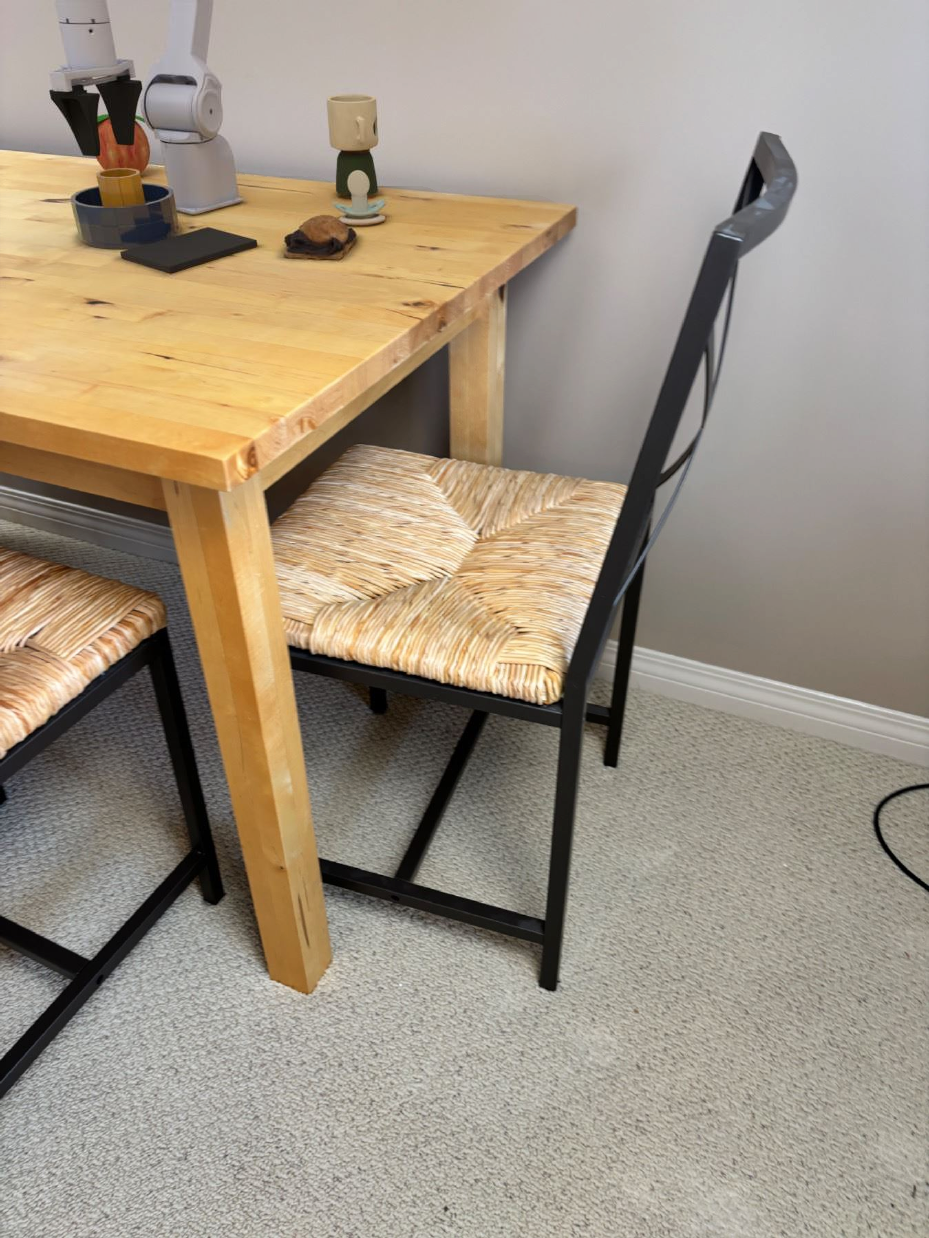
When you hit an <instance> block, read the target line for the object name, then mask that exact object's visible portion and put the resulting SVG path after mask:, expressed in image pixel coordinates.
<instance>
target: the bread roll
mask: <svg viewBox="0 0 929 1238" xmlns="http://www.w3.org/2000/svg"><path fill="white" fill-rule="evenodd" d="M357 238H358V234H357V231H356V230H354V228H353V227H348V226H347V224H344V223H343V222H342V221H341V220H339V218H338V217H336V216H334V215H330V214H319V215H315V216H313V217H309V218H308V219H307V220H306V221H303V223H301V225H300V226H299V227H298V229H297V230H295V231H294V232H292V233H289V234H287V235H285V236H284V243H285V246H286V248H285V249H284V251H283V258H289V259H293V258H295V259H303V260H308V259H314V260H318V261H319V260H336V261H337V260H338V261H339V260H341V259H343V258H344V257H345V256H346V255H347V253H348V252H350V248H351V247H353V246H354V244H355V242H356V241H357Z"/></svg>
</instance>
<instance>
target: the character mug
mask: <svg viewBox="0 0 929 1238" xmlns="http://www.w3.org/2000/svg"><path fill="white" fill-rule="evenodd" d="M326 108H327V109H326V110H327V122H328V124H327V125H328V137H329V144H330V147H331V148H332V149H335V150H337V151H339V152H338V154H337V158H336V168H335V171H336V172H335V192H336V194H339V195H344V196H345V195H346V196H347V195H348V196H349V195H351V192H350V191H349V188H348V177H349V175H350V174H351V173H352V172H353V171H356V170H360V171H362V172H364V173H365V174H366V175H367V177H368V179H369V183H370V186H369V190H368V192H367V195H371V196H372V195H375V194H377V193H378V191H379V187H378V179H377V173H376V168H375V163H374V156H373V155H372V153H371V149H373V148H374V147H377V146H378V144H379V133H378V132H379V131H378V129H379V128H378V105H377V97H376V96H374V95H368V94H358V93H357V94H355V93H351V94H349V93H345V94H336V95H331V96H328V97H327V98H326Z"/></svg>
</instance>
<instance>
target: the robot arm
mask: <svg viewBox="0 0 929 1238" xmlns="http://www.w3.org/2000/svg"><path fill="white" fill-rule="evenodd" d="M53 1H54V5H55V11H56V15H57V20H58V25H59V30H60V35H61V40H62V45H63V49H64V54H65V59H66V63H63V64H62V63H61V64H60V68H58V69H56V70H53V71H49V72H48V73H49V78H50V83H51V89H50V90H49V91H48V92H49V96H50V100H51V101H52V102H53V104H54V105H55V106H56V107H57V109H58V110H59V111H60V113H61V114H62V116H63V118H64V119H65V121H66V122H67V124H68V126H69V127H70V130H71V132H72V134H73V136H74V138H75V141H76V143H77V146H78V147H79V150H80V152H81V154H82V156H84V157H95V156H100V139H99V131H98V116H99V104H100V98H101V100H102V101H103V105H104V106H105V108H106V111H107V114H108V115H109V118H110V122H111V126H112V130H113V134H114V137H115V140H116V142H117V145H130V146H132V145H134V135H135V121H136V119H135V117H136V116H137V110H138V109H137V108H138V104H140V105H139V106H140V111H141V117H142V118H143V119H144V121H145V123H144V124H145V125H146V126H147V128H148V129H149V130H150V131H152V132H153V134H154V135H153V136H154V139H155V140H156V139H157V140H159V142H160V148H161V153H162V159H163V165H164V170H165V176H166V182H167V187H169V188H171V189H172V190H173V193H174V199H175V204H176V210H177V212H179V213H183V214H188V215H198V214H202V213H205V212H210V211H213V210H217V209H221V208H224V207H229V206H232V205H235V204H240V203H242V202H244V199H243V197H240V196H239V189H238V188H239V186H238V179H237V172H236V165H235V158H234V153H233V150H232V147H231V146H230V143H229V141H228V140H227V139H226V138H225V137H224V136H222V135H221V134H219V131H220V129H221V127H222V123H223V120H224V119H223V117H224V111H223V105H222V89H223V88H222V87H223V84H222V83H221V82H220V80H219V78H218V76H216V74H215V73H214V72H213V71H212V69H210V68H209V67H208V65H207V60H208V54H209V53H208V52H209V44H210V35H211V27H212V20H213V19H212V18H213V10H214V2H215V1H214V0H170V7H169V16H168V17H169V18H168V25H167V36H166V44H165V53H164V54H163V55H161V57H159V58H158V59H157V60H155V62H154V63H153V64H152V65H151V66H150V67H149V68H148V72H147V79H146V82H145V85H144V87H143V83H142V80H140V79H139V80H138V79H135V78H136V69H135V64H134V59H126V58H125V59H124V58H123V59H122V58H117V53H116V47H115V40H114V36H113V30H112V25H111V20H110V14H109V9H108V3H107V0H53ZM133 78H134V79H133ZM90 86H95V87H96V89H97V91H98V92H88V89H85V87H90ZM139 100H140V103H139Z"/></svg>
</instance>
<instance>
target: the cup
mask: <svg viewBox="0 0 929 1238" xmlns="http://www.w3.org/2000/svg"><path fill="white" fill-rule="evenodd" d="M96 181H97V186H99V190H100V195H101V200H102V204H103V207H119V206H132V205H139V204H145V203H146V202H145V197H144V192H143V187H142V183H143V182H142V177H141V174H140V171H139V170H136V169H131V168H116V169H108V170H104V169H103V170H101V171H97V172H96Z"/></svg>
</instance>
